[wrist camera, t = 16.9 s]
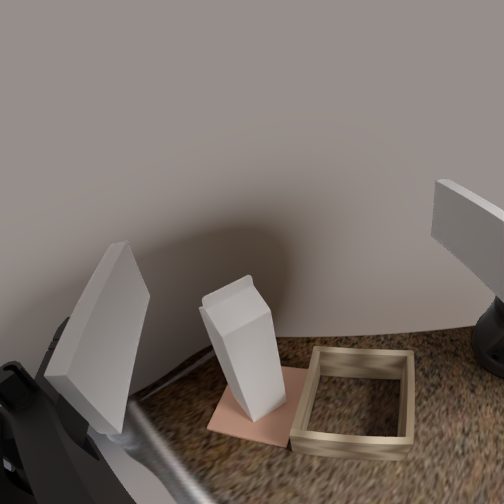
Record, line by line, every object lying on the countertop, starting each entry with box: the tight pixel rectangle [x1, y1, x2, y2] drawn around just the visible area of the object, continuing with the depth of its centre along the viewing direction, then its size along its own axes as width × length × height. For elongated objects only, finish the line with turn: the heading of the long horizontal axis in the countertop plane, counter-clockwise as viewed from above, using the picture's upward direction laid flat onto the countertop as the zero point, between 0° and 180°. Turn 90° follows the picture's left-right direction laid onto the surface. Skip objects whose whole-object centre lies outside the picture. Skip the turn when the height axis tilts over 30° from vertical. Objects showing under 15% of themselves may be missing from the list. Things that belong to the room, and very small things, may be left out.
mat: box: [207, 366, 308, 448], centre depth 42 cm, size 12×14×1 cm
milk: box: [199, 275, 287, 422], centre depth 37 cm, size 6×6×22 cm
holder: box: [289, 346, 415, 460], centre depth 36 cm, size 15×15×6 cm
